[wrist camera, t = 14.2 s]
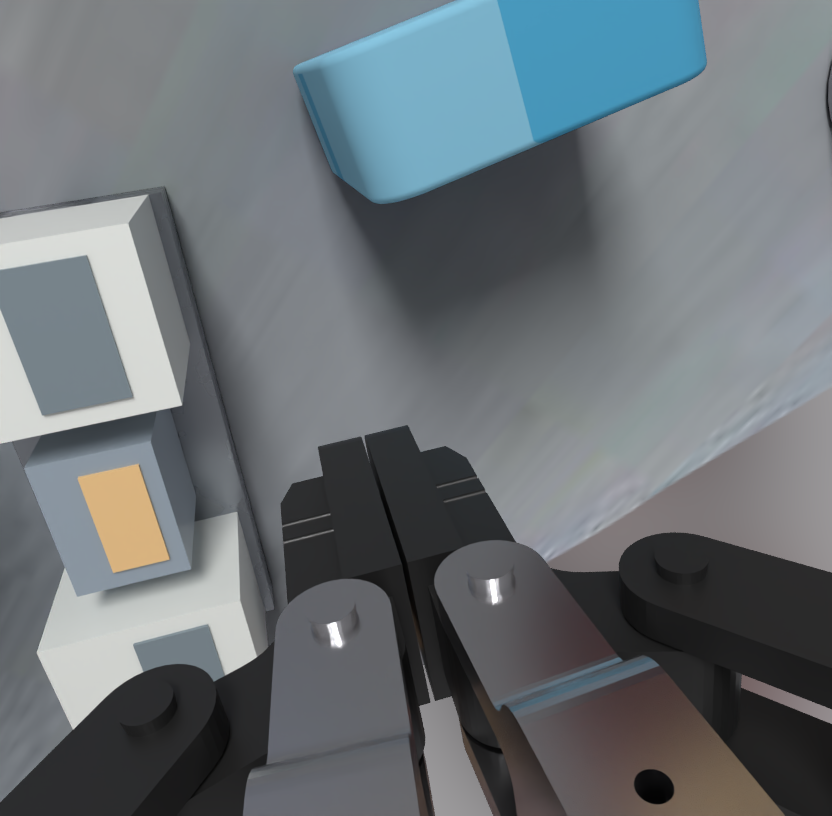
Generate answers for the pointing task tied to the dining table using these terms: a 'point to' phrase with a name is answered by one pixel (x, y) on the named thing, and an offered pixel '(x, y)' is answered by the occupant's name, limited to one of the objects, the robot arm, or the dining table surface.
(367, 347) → the dining table surface
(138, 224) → the mounted modules
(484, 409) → the dining table surface
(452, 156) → the data package
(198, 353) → the rail
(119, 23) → the dining table surface
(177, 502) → the block
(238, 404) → the dining table surface
